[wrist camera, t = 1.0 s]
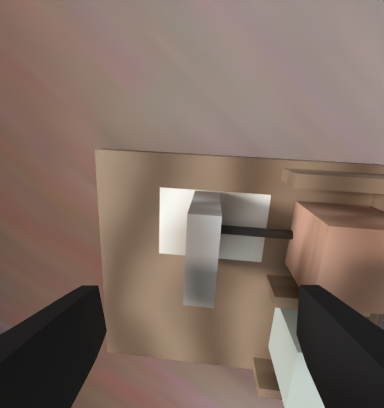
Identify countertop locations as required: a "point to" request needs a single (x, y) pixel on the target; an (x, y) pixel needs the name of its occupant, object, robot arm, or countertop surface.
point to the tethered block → (296, 250)
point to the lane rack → (228, 250)
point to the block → (291, 363)
